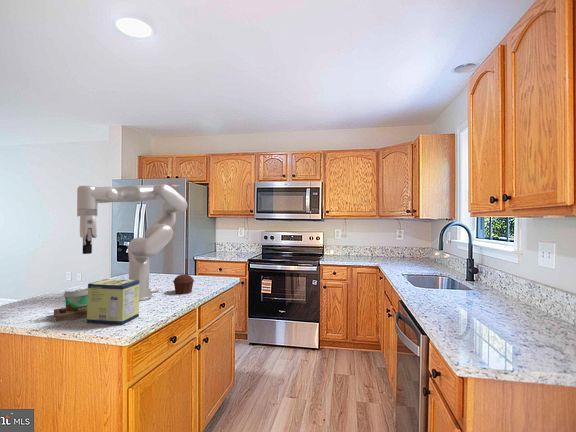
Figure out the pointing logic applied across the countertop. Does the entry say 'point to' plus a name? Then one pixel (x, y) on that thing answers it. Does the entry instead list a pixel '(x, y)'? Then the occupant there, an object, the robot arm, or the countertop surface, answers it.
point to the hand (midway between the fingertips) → (87, 253)
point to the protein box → (113, 301)
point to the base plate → (68, 314)
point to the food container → (76, 300)
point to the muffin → (183, 284)
